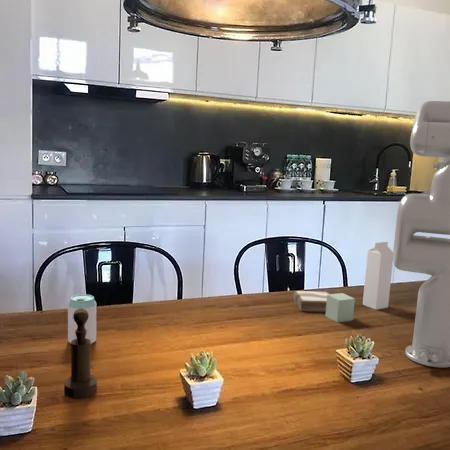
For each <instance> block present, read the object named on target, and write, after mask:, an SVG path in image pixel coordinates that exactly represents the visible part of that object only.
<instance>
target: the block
mask: <svg viewBox="0 0 450 450" xmlns="http://www.w3.org/2000/svg"><path fill="white" fill-rule="evenodd" d="M355 303H356V299H355V298H354V297H352V296H350V295H348V294H345V293H344V292H343V293H342V292H341V293H329V295H327V302H326V311H325V317H326V318H328V319H330V320H332V321H334V322H336V323H342V322H350V321H353V320H354V311H355Z"/></svg>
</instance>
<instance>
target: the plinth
mask: <svg viewBox="0 0 450 450" xmlns="http://www.w3.org/2000/svg"><path fill="white" fill-rule="evenodd" d="M292 294H293V295H292V301H294V304H295V305H296V306H297V307H298V309H299V311H301V312H326V302H327V295H329V294H330V292H329V291H309V290H308V291H307V290H306V291H305V290H294V291H293V292H292Z"/></svg>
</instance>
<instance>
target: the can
mask: <svg viewBox="0 0 450 450" xmlns="http://www.w3.org/2000/svg"><path fill="white" fill-rule="evenodd" d="M77 309H85V310H87V312H88V314H89V317H88V320H87V322H86V323H85V329H86V330H87V333H86V337H85V338H87V339H89V340H90V341H91V345H92V344H93V343H96V341H97V302H96V300H95V296H93V295H91V294H83V293H81V294H75V295H72V296H71V297H70V300H69V302H68V304H67V342H68V343H69V344H71V341H72V340H74V339H77V337H76V333H75V330H76V329H77V328H78V326H77V324H76V322H75V320H74V318H73V315H74V312H75V311H76V310H77Z"/></svg>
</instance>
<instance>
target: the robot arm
mask: <svg viewBox="0 0 450 450" xmlns="http://www.w3.org/2000/svg"><path fill="white" fill-rule="evenodd" d="M409 144H410V145H409V146H410V149H411V151H412V153H413V154H414V155H416V156H418V157H429V158H430V157H431V158H438V163H436V164H433V166H432V167H433V169H434V170H436V172H434V174H433V178H432V180H431V186H430V189H429V190H426V191H424V192H421V193H408V194H406V195H404V196H402V198H401V200H400V201H399V205H398V208H397V214H396V222H395V232H394V243H393V251H392V252H393V266H394V267H395V268H396V269H397V270H399V271H402V272H410V273H415V274H416V273H417V274H424V275H429V276H430V277H429V278H428V279H426V280H425V281H424V282H423V283H422V284H421V285H420V287H419V289H418V291H417V293H418V294H417V299H416V300H417V302H416V310H415V319H414V325H413V326H414V327H413V328H414V329H413V334H412V335H413V337H412V344H411V345H408V346H407V347H405V351H404V352H405V353H404V354H405V356H406V357H407V358H409V359H410V361H413V362H415V363H417V364H420V365H423V366H427V367H432V368H443V369H444V368H450V238H447V237H440V236H439V237H438V236H426V235H425V236H424V235H417V234H416V233H424V234H434V235H442V236H443V235H445V236H450V100H428V101H424V103H422V104H421V105H420V106H419V107H418V109H417V112H416V113H415V116H414V121H413V125H412V128H411V133H410V140H409ZM415 234H416V235H415Z"/></svg>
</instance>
